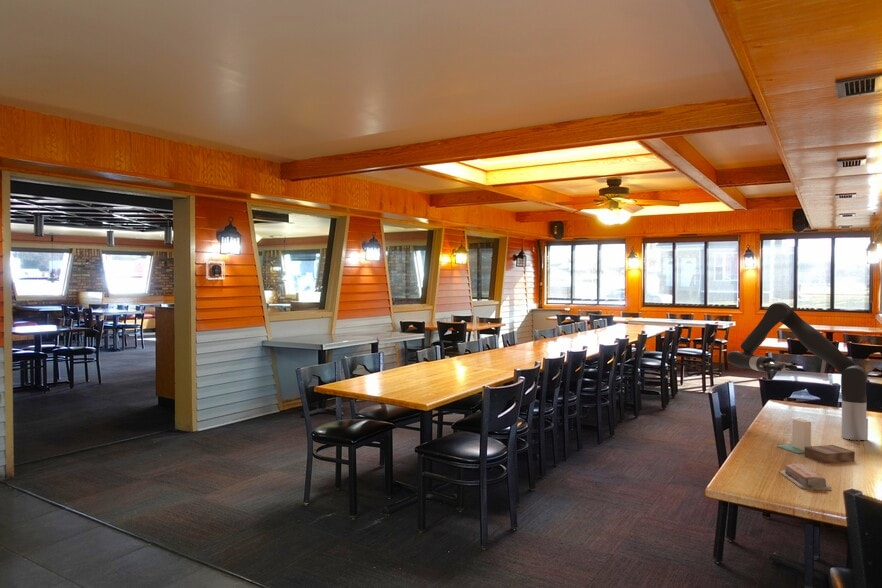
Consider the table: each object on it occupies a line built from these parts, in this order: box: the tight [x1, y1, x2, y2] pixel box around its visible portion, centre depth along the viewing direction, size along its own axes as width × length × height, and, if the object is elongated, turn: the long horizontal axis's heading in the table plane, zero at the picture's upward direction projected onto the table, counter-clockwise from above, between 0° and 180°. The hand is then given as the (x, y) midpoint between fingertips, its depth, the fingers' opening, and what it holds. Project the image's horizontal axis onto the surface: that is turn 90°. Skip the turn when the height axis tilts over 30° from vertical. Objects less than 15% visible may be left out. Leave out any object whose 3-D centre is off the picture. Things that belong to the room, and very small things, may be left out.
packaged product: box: [778, 462, 832, 491], centre depth 208 cm, size 18×5×10 cm
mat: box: [776, 443, 805, 455], centre depth 247 cm, size 14×11×1 cm
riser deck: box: [804, 444, 856, 465], centre depth 234 cm, size 14×10×4 cm
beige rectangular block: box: [791, 418, 812, 450], centre depth 247 cm, size 4×6×12 cm, turn 14°
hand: (788, 368), depth 266 cm, fingers open, 8 cm apart
